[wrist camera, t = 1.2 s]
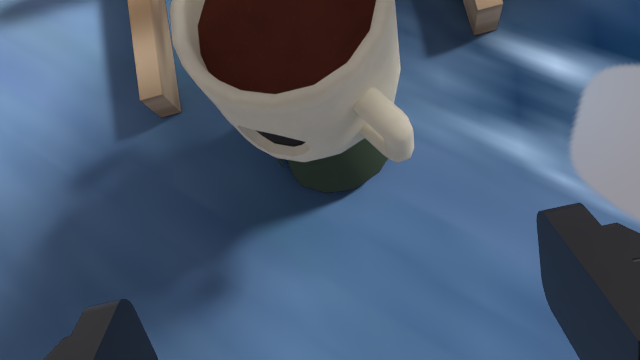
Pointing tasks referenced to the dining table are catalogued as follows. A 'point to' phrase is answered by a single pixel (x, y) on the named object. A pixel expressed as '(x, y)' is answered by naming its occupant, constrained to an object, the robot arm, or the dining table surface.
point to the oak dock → (159, 63)
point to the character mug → (302, 81)
